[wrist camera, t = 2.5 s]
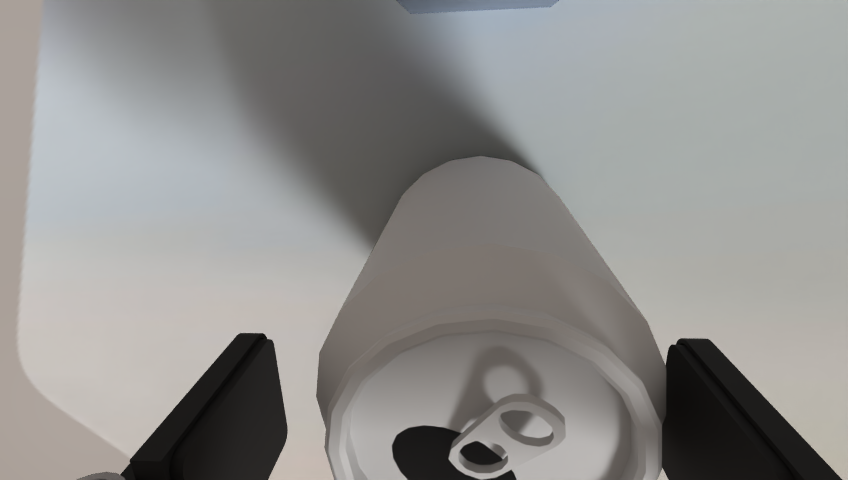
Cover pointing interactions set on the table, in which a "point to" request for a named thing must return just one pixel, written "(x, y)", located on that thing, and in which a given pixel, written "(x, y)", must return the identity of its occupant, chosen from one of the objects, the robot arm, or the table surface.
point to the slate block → (470, 5)
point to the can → (489, 344)
